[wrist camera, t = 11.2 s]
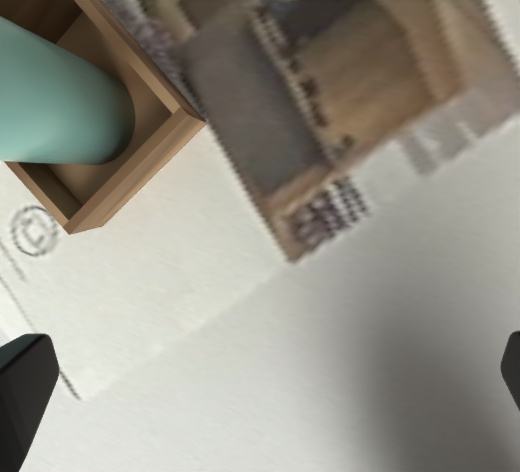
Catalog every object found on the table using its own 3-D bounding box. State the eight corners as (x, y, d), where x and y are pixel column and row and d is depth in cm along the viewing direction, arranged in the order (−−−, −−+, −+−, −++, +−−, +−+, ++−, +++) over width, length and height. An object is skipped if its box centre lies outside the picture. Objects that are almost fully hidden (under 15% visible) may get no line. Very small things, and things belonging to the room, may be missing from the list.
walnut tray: (206, 123, 20) (171, 107, 15) (102, 226, 22) (40, 242, 17) (99, -2, 19) (26, -60, 15) (2, 113, 21) (-90, 96, 16)
